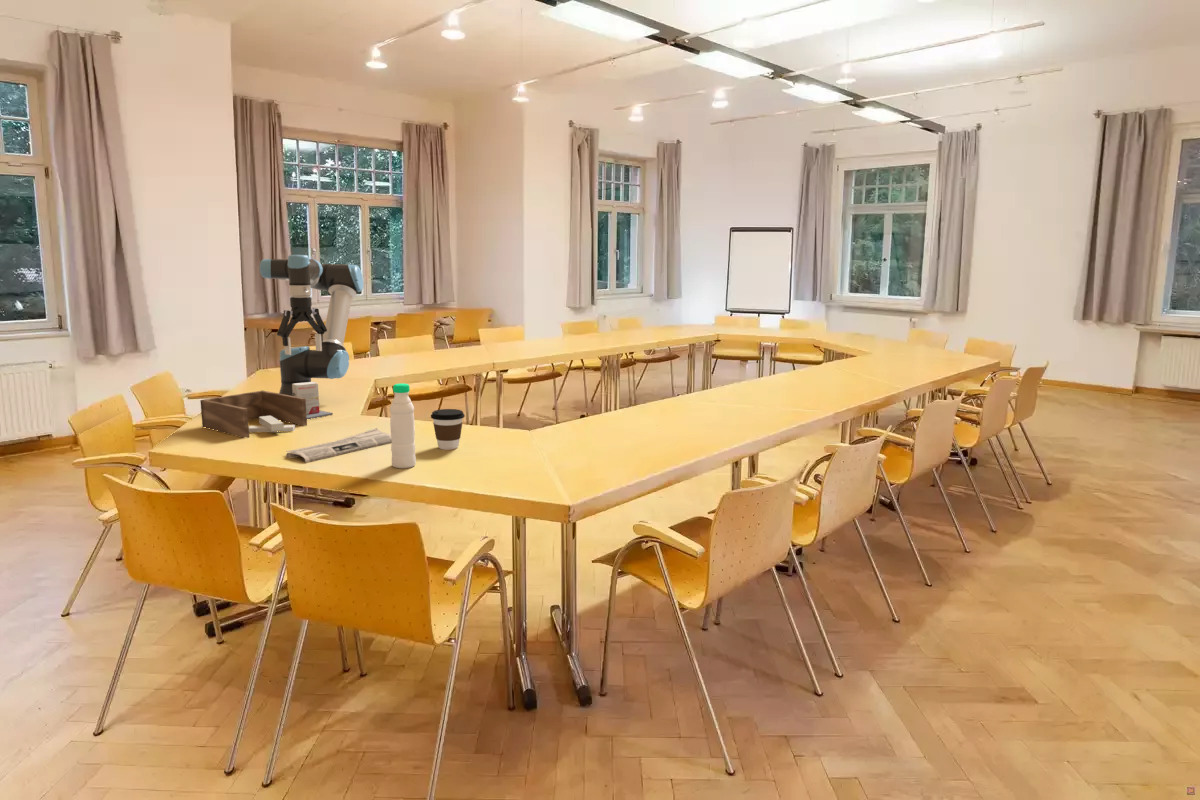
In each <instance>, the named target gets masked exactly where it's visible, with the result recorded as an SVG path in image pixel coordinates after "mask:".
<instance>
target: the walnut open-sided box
mask: <svg viewBox="0 0 1200 800" xmlns="http://www.w3.org/2000/svg"><path fill="white" fill-rule="evenodd" d="M199 402H200V411H201V413H200V414H201V423H202V425H201V426H202V427H201V428H203V427H206V428H210V429H214V430H218V431H217V432H219V431H221V432H220V433H223V432H225V433H224V434H227V433H229V434H228V435H231V434H233V435H232V436H235V435H237V436H236V437H239V436H241V437H240V438H243V437H248V438H250V433H249V426H250V425H249V421H250V420H249V419H252V420H255V419H254V418H257V419H259V417H261V416H270V415H271V416H272V417H274V418H276V419H277V420H281V422H282V421H286V422H285V423H287V422H290V423H289V424H291V423H295V424H294V425H296V424H299V425H298V426H301V425H303V426H302V427H305V426H304V425H306V426H308V420H307V416H306V398H300V397H295V396H290V395H284V394H279V392H273V391H269V390H267V391H266V390H257V391H256V390H255V391H250V392H244V393H238V394H232V395H226V396H219V397H212V398H206V399H201V400H200V401H199ZM206 428H205V429H206ZM210 429H209V430H210ZM214 430H213V431H214Z"/></svg>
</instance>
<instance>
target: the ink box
mask: <svg viewBox="0 0 1200 800" xmlns="http://www.w3.org/2000/svg"><path fill="white" fill-rule="evenodd" d="M292 390H293V396H295V397H300V398H306V414H313V413H319V412H320V411H319V410H320V398H319V397H320V395H319V383H317V382H314V381H311V382H305V383H294V384H292Z"/></svg>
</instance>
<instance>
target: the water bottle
mask: <svg viewBox="0 0 1200 800" xmlns="http://www.w3.org/2000/svg"><path fill="white" fill-rule="evenodd" d="M392 390H393V391H392V392H393V394H394V398H393V399H392V402H391V404H390V406H389V412H390V423H389V425H390V435H391V440H392V443H390V444H391V445H390V446H391V447H390V448H391V449H390V450H391V451H390V452H391V467H394V468H396V469H409V468H412V467H415V465H416V464H417V463H416V462H417V460H416V443H415V438H416V437H415V435H416V431H415V424H416V423H415V416H414V415H415V414H414V412H415V406H414V405H413V403H412V400H411V397H409V393H410V385H409V384H408V383H402V382H401V383H396V384H394V385H393V387H392Z"/></svg>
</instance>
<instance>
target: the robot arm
mask: <svg viewBox="0 0 1200 800" xmlns="http://www.w3.org/2000/svg"><path fill="white" fill-rule="evenodd" d="M259 272H260V276H261V277H262V278H264V279H269V280H272V279H275V280H282V281H287V282H288V283H289V286H288V288H289V296H290V298H289V305H290V309H291V310H285V309H284V310H283V316H282V319H281V321H280V325H279V327H278V330H277V333H276V336H278V337H280V338H282V346H283V347H284V348H283V349H281V350H280V352H279V370H280V372H279V373H280V389H279V392H278V393H279V394H284V395H290V396H293V390H292V384H294V383H305V382H312V379H330V380H334V379H342V378H343V377H344V376H345V375H346V374H347V372H348V370H349V367H350V355H349V353H348V351H347V349H346V347H345V346H344V343H345V342H344V341H345V338H346V333H347V327H348V321H349V315H350V312H351V306H352V301H353V300H354V299H356V297H357V294H358V293H360V292H363V289H364V279H363V274H362V270H361V268H360V267H359V265H357V264H349V263H348V264H341V263H340V264H339V263H335V264H334V263H333V264H331V263H321V262H320V261H318V260H317V259H312V258H311V259H310V257H309V255H307V254H290V255H288V256H287V259H281V258H278V259H277V258H263V259H262V260H261V261H260V263H259ZM312 289H314V290H318V291H325V292H328V293H329V294H330V299H329V305H328V308H327V314H326V320H325V323H324V321H323V318H322V316H321V315H320V309H319V308H312V304H313V303H312V297H311V296H312ZM357 292H358V293H357ZM312 316H313V317H312ZM299 322H300V323H301V322H307V323H308V324H309V325H310V326H311V328H312V329H313V330H314V331H315V334H314V340H315V349H311V348H310V346H308V345H302V346H294V347H292V345H291V341H292V340H291V337H289V336H290V335H291V332H293V329H294V328H295V327H296V325H297V324H298V323H299Z"/></svg>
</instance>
